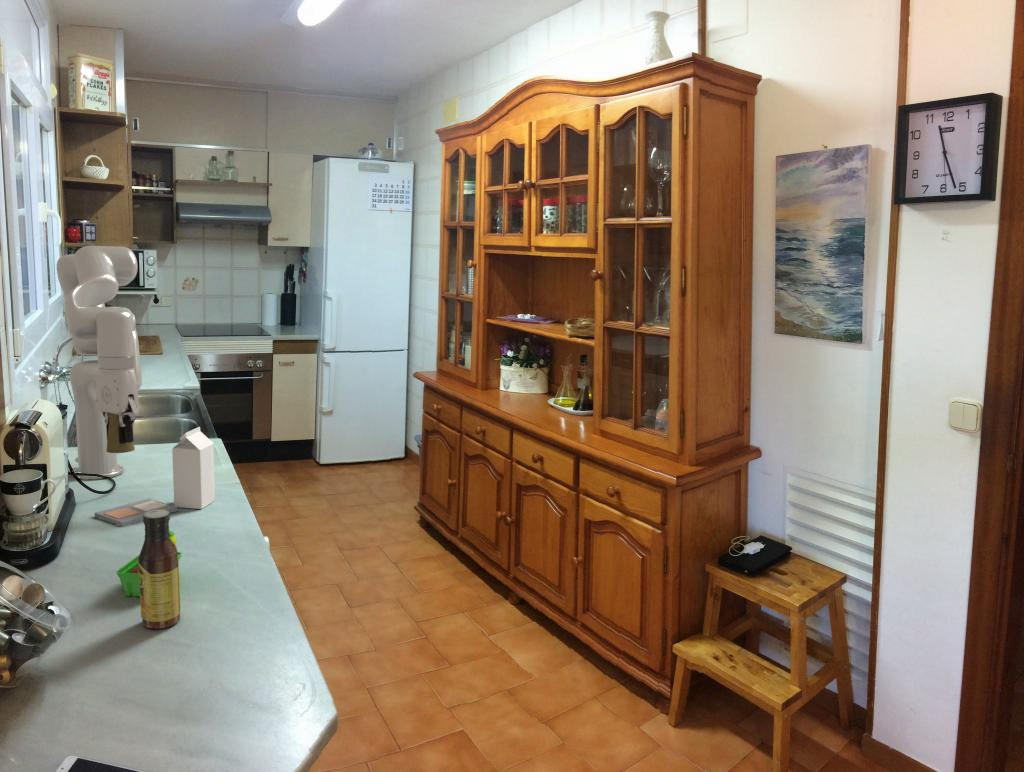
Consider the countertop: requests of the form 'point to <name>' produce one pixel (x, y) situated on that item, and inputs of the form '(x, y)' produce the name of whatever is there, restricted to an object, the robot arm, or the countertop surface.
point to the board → (132, 511)
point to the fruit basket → (136, 573)
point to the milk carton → (193, 471)
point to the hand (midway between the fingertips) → (120, 440)
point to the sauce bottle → (158, 573)
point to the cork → (116, 436)
